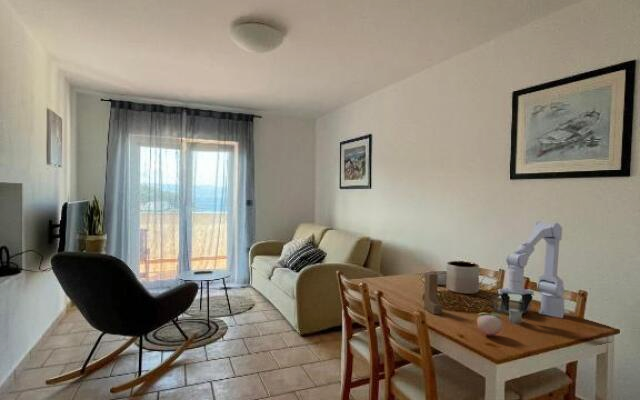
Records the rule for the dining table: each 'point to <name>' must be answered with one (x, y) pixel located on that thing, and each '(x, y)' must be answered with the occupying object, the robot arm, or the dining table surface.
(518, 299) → the trapdoor
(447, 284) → the planter
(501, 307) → the trapdoor frame
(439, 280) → the tin
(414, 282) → the dining table surface
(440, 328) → the dining table surface
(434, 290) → the grey upright bracket
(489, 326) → the decorative fruit
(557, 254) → the robot arm
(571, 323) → the dining table surface
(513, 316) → the stone
